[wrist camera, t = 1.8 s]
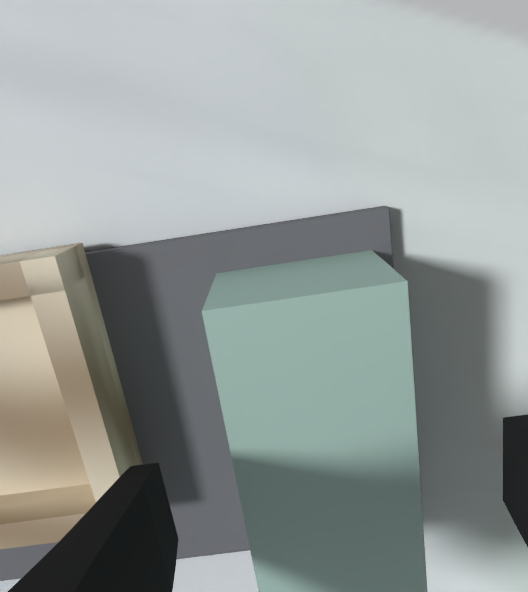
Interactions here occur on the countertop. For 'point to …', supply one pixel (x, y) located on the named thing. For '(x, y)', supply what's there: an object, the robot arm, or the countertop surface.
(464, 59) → the countertop surface
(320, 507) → the block
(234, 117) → the countertop surface
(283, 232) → the mat
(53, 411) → the tray
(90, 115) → the countertop surface
